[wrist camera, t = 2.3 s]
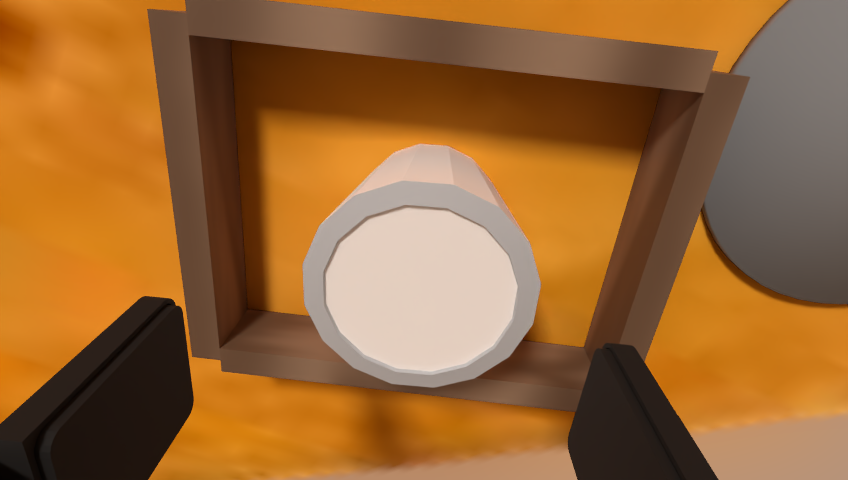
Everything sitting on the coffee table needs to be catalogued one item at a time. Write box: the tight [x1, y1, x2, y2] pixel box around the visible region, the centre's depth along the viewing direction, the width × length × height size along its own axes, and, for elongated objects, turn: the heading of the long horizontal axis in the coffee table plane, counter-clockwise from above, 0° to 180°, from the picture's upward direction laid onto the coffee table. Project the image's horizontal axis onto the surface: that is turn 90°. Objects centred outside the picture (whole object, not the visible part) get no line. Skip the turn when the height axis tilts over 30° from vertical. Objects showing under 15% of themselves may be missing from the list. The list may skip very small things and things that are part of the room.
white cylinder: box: [303, 144, 541, 388], centre depth 17 cm, size 7×7×7 cm
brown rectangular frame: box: [147, 0, 750, 412], centre depth 18 cm, size 18×14×3 cm
